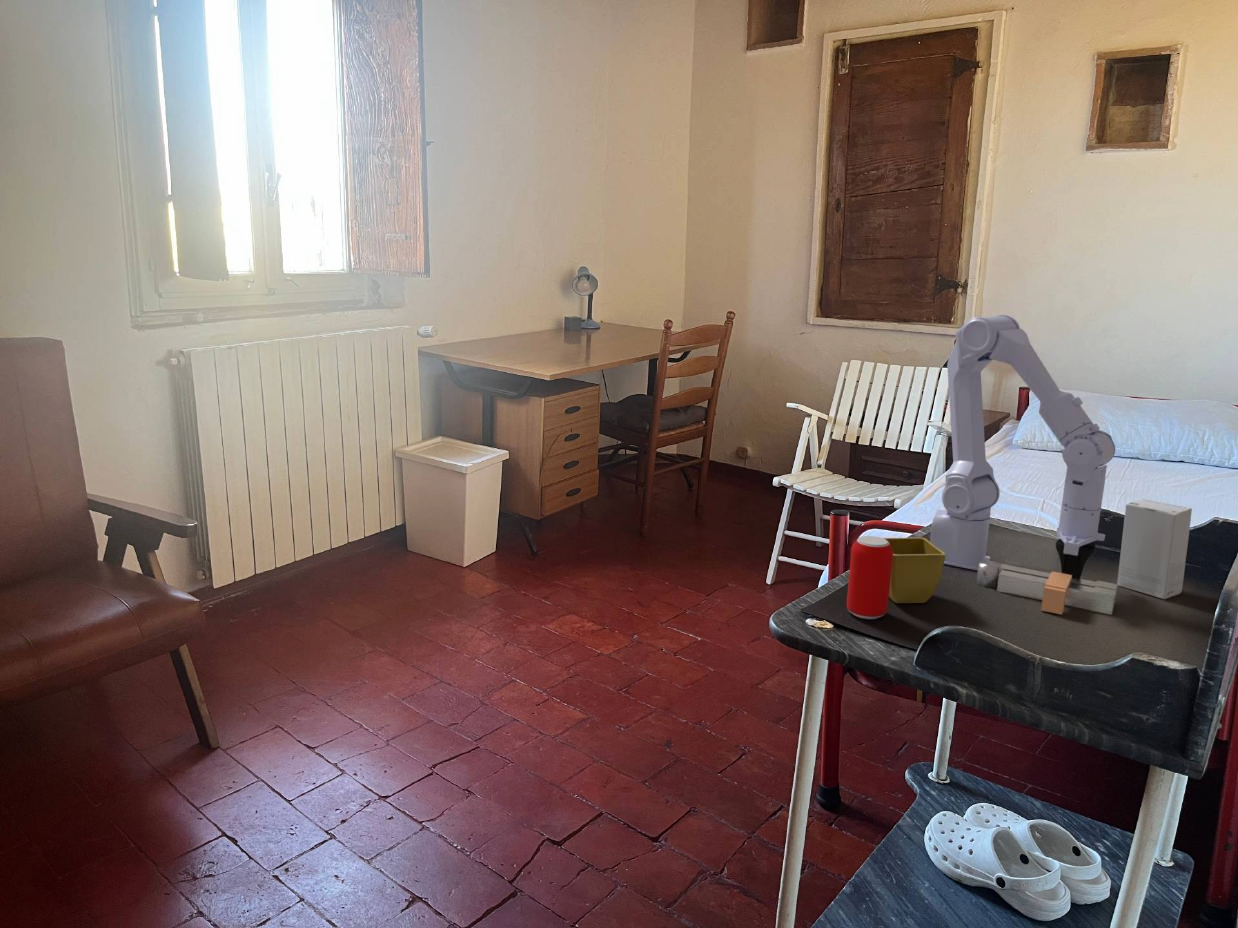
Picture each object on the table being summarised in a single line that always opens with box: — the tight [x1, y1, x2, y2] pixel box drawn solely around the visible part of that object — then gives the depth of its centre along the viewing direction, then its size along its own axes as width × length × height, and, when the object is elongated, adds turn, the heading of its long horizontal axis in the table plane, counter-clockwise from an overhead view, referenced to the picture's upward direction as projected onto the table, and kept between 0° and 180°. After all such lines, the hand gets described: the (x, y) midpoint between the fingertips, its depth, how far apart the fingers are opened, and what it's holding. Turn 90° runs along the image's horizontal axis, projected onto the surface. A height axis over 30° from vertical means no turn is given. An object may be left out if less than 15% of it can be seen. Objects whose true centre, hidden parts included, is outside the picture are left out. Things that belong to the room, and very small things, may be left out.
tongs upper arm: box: [976, 560, 1118, 609], centre depth 150 cm, size 21×5×4 cm, turn 57°
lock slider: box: [1040, 571, 1072, 616], centre depth 145 cm, size 3×8×4 cm, turn 148°
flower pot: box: [883, 537, 946, 604], centre depth 147 cm, size 9×9×9 cm
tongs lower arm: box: [996, 570, 1117, 616], centre depth 148 cm, size 17×3×3 cm, turn 58°
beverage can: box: [846, 535, 893, 620], centre depth 140 cm, size 6×6×12 cm
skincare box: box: [1116, 498, 1193, 600], centre depth 152 cm, size 8×6×15 cm
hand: (1069, 584), depth 151 cm, fingers closed
